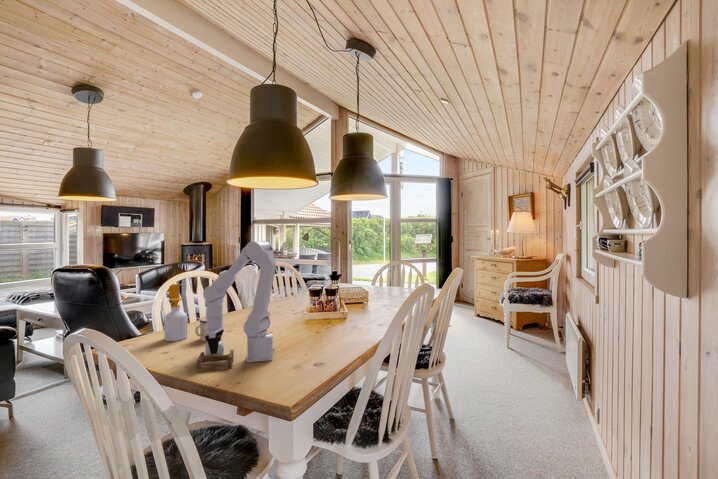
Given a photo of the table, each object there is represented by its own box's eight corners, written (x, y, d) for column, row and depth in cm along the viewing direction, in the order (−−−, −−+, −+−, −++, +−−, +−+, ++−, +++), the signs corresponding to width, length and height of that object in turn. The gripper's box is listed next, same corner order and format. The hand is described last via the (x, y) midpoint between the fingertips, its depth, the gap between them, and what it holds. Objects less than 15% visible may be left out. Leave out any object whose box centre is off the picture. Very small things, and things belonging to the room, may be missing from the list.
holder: (233, 360, 127) (233, 349, 127) (231, 368, 120) (231, 357, 120) (201, 363, 124) (201, 352, 124) (197, 371, 117) (196, 360, 117)
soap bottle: (167, 343, 148) (166, 286, 147) (162, 338, 155) (162, 283, 154) (189, 338, 154) (189, 284, 153) (184, 334, 160) (183, 281, 160)
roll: (224, 352, 136) (224, 339, 136) (222, 356, 131) (222, 343, 131) (207, 353, 135) (207, 340, 135) (205, 357, 130) (205, 344, 130)
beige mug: (212, 334, 160) (212, 309, 160) (226, 337, 156) (225, 311, 156) (189, 341, 150) (188, 314, 150) (202, 344, 145) (202, 317, 145)
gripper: (206, 312, 139) (207, 346, 139) (200, 321, 125) (200, 358, 125) (225, 311, 141) (225, 344, 141) (220, 320, 127) (220, 356, 127)
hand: (215, 351), depth 133 cm, fingers closed on roll, 5 cm apart
